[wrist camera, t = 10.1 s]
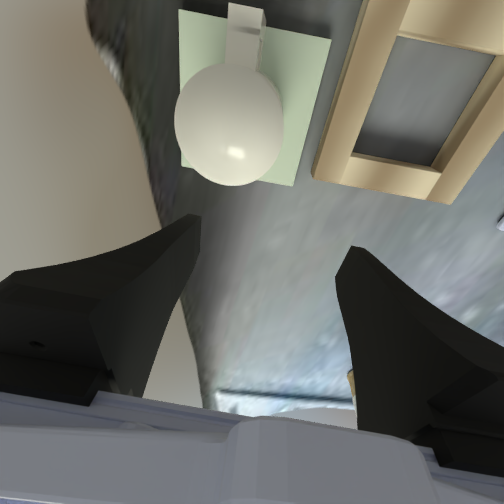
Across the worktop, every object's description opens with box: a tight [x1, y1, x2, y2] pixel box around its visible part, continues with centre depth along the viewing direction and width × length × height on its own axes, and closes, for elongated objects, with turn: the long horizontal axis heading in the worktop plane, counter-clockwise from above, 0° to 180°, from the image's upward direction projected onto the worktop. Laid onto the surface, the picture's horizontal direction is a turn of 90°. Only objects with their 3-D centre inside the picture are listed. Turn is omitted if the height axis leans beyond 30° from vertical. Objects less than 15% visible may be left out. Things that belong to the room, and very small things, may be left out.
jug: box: [174, 3, 284, 186], centre depth 13 cm, size 7×5×7 cm
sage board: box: [179, 9, 332, 186], centre depth 17 cm, size 9×9×1 cm
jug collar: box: [311, 0, 504, 205], centre depth 16 cm, size 11×11×2 cm
